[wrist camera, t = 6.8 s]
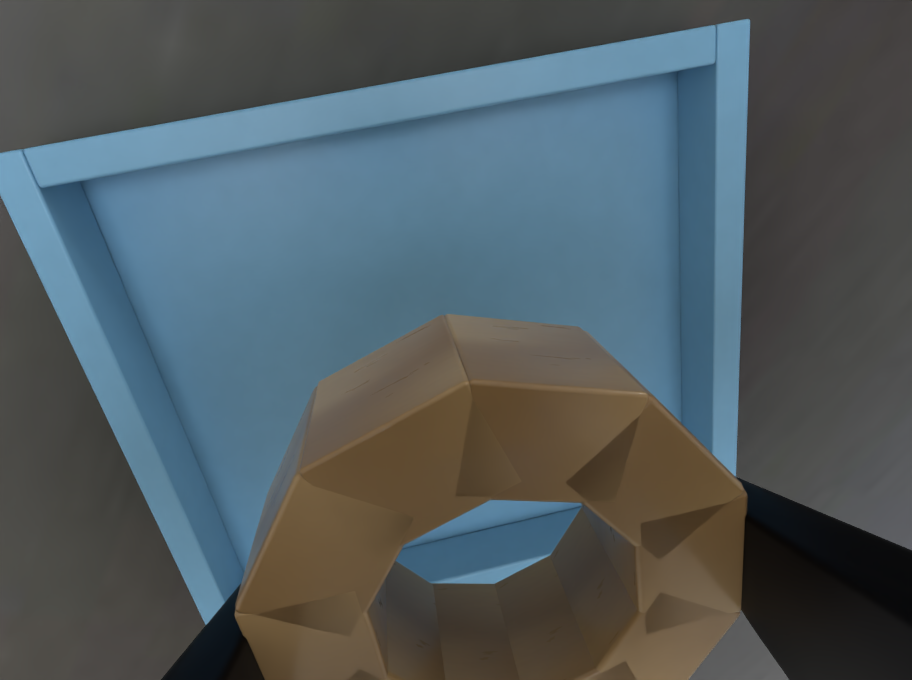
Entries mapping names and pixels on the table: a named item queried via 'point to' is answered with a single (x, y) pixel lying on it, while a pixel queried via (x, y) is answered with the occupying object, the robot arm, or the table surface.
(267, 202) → the tray
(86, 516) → the table surface
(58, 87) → the table surface
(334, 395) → the wooden ring
